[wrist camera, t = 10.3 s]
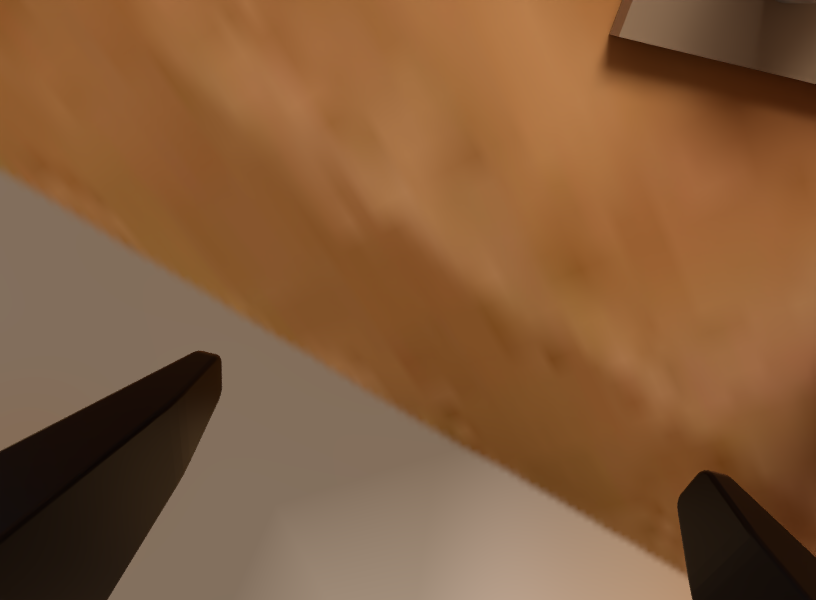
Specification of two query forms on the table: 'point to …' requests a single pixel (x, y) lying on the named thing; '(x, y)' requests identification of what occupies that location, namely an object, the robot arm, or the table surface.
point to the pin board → (729, 31)
